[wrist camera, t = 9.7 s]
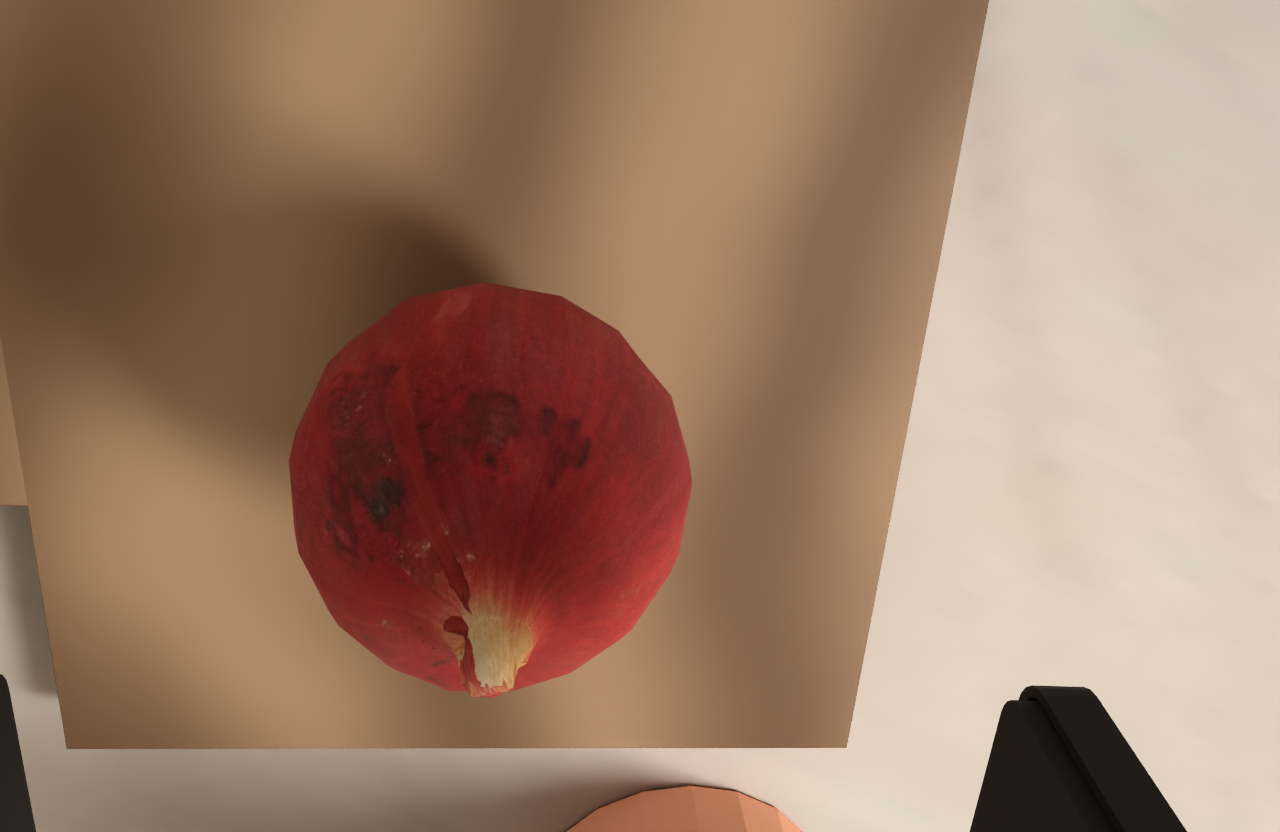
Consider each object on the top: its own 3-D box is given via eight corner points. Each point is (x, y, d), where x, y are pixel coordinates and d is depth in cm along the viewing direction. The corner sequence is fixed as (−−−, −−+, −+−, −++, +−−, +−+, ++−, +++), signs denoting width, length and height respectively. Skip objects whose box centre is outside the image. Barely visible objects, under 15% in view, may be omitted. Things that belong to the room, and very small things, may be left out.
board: (965, -56, 19) (999, -54, 18) (829, 703, 26) (846, 747, 24) (-198, -155, 17) (-261, -162, 16) (-28, 700, 23) (-63, 748, 22)
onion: (262, 366, 19) (104, 635, 12) (518, 158, 18) (513, 317, 11) (482, 582, 22) (460, 920, 14) (722, 408, 21) (829, 677, 13)
